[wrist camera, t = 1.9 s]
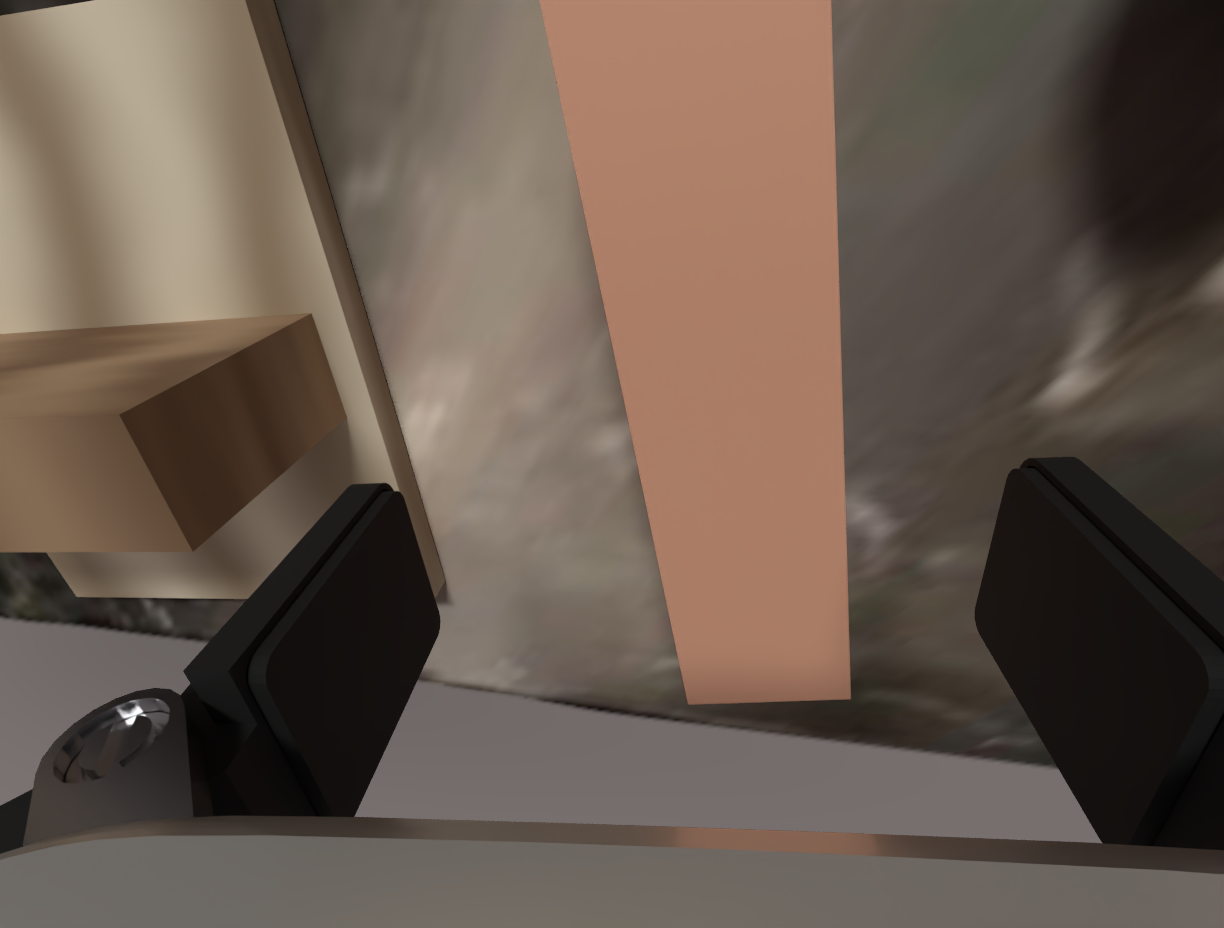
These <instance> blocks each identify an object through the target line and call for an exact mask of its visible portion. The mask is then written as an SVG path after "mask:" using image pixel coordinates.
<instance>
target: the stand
mask: <svg viewBox="0 0 1224 928" xmlns="http://www.w3.org/2000/svg"><path fill="white" fill-rule="evenodd" d="M368 483H387V484H389V485H390V486H391V487H392V488H393V490H394V491H399V492H401V494H402V495H403V497H404V499H405V502H406V505H407V509H408V512H409V515H410V518H411V522H412V525H413V528H414V532H415V535H416V538H417V541H418V545H419V548H420V551H421V555H422V558H423V561H424V564H425V568H426V571H427V574H428V578H429V581H430V584H431V587H432V591H433V594H434V597H435V599H436V597H437V595H438V593H439V591H440V590H441V588H442V586H443V584H444V582H445V578H444V575H443V571H442V568H441V565H440V561H439V558H438V554H437V551H436V548H435V544H434V541H433V538H432V534H431V531H430V527H429V524H428V521H427V517H426V514H425V511H424V507H423V504H422V500H421V497H420V494H419V490H418V487H417V484H416V480H415V477H414V473H413V470H412V467H411V463H410V460H409V457H408V453H407V450H406V446H405V443H404V440H403V436H402V433H401V429H400V426H399V423H398V419H397V416H396V413H395V409H394V406H393V402H392V399H391V396H390V392H389V389H388V386H387V382H386V379H385V375H384V372H383V369H382V365H381V362H380V359H379V355H378V352H377V348H376V345H375V342H374V338H373V335H372V332H371V328H370V325H369V321H368V318H367V315H366V311H365V308H364V305H363V301H362V298H361V294H360V291H359V288H358V284H357V281H356V278H355V274H354V271H353V267H352V264H351V261H350V257H349V254H348V251H347V247H346V244H345V240H344V237H343V234H342V230H341V227H340V224H339V220H338V217H337V213H336V210H335V207H334V203H333V200H332V197H331V193H330V190H329V186H328V183H327V180H326V176H325V173H324V169H323V166H322V163H321V159H320V156H319V153H318V149H317V146H316V142H315V139H314V136H313V132H312V129H311V126H310V122H309V119H308V115H307V112H306V109H305V105H304V102H303V99H302V95H301V92H300V88H299V85H298V82H297V78H296V75H295V72H294V68H293V65H292V61H291V58H290V55H289V51H288V48H287V45H286V41H285V38H284V34H283V31H282V28H281V24H280V21H279V18H278V14H277V11H276V7H275V4H274V1H273V0H94V1H88V2H82V3H76V4H70V5H64V6H58V7H52V8H46V9H40V10H34V11H27V12H21V13H15V14H9V15H3V16H0V552H46V553H47V554H48V556H49V557H50V558H51V560H52V561H53V563H54V564H55V566H56V567H57V569H58V570H59V572H60V573H61V575H62V576H63V577H64V579H65V580H66V582H67V583H68V585H69V586H70V588H71V589H72V591H73V592H74V594H75V595H76V596H77V597H127V598H204V599H248V598H249V597H250V596H251V595H252V594H253V593H254V591H255V590H256V589H257V588H258V587H259V586H260V585H261V584H262V582H263V581H264V580H265V579H266V578H267V577H268V576H269V575H270V574H271V572H272V571H273V570H274V569H275V568H276V567H277V566H278V565H279V563H280V562H281V561H282V560H283V559H284V558H285V557H286V556H287V555H288V553H289V552H290V551H291V550H292V549H293V548H294V547H295V546H296V544H297V543H298V542H299V541H300V540H301V539H302V538H303V537H304V536H305V534H306V533H307V532H308V531H309V530H310V529H311V528H312V527H313V525H314V524H315V523H316V522H317V521H318V520H319V519H320V518H321V516H322V515H323V514H324V513H325V512H326V511H327V510H328V509H329V508H330V506H331V505H332V504H333V503H334V502H335V501H336V500H337V499H338V497H339V496H340V495H341V494H342V493H343V492H344V491H345V490H346V489H347V487H349V486H350V485H352V484H368Z"/></svg>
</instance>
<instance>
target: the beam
mask: <svg viewBox="0 0 1224 928" xmlns="http://www.w3.org/2000/svg"><path fill="white" fill-rule="evenodd" d="M540 4H541V9H542V14H543V19H544V23H545V28H546V33H547V38H548V42H549V47H550V52H551V57H552V61H553V66H554V71H555V76H556V80H557V85H558V90H559V95H560V99H561V104H562V109H563V114H564V118H565V123H566V128H567V133H568V137H569V142H570V147H571V151H572V156H573V161H574V166H575V170H576V175H577V180H578V185H579V189H580V194H581V199H582V204H583V208H584V213H585V218H586V223H587V227H588V232H589V237H590V242H591V246H592V251H593V256H594V261H595V265H596V270H597V275H598V280H599V284H600V289H601V294H602V299H603V303H604V308H605V313H606V318H607V322H608V327H609V332H610V337H611V341H612V346H613V351H614V355H615V360H616V365H617V370H618V374H619V379H620V384H621V389H622V393H623V398H624V403H625V408H626V412H627V417H628V422H629V427H630V431H631V436H632V441H633V446H634V450H635V455H636V460H637V465H638V469H639V474H640V479H641V484H642V488H643V493H644V498H645V503H646V507H647V512H648V517H649V522H650V526H651V531H652V536H653V540H654V545H655V550H656V555H657V559H658V564H659V569H660V574H661V578H662V583H663V588H664V593H665V597H666V602H667V607H668V612H669V616H670V621H671V626H672V631H673V635H674V640H675V645H676V650H677V654H678V659H679V664H680V669H681V673H682V678H683V683H684V688H685V692H686V697H687V702H688V705H693V704H723V703H753V702H782V701H812V700H841V699H851V685H850V650H849V615H848V579H847V544H846V509H845V474H844V439H843V403H842V368H841V333H840V298H839V262H838V227H837V192H836V157H835V122H834V86H833V51H832V16H831V0H540Z"/></svg>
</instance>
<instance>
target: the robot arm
mask: <svg viewBox="0 0 1224 928" xmlns="http://www.w3.org/2000/svg"><path fill="white" fill-rule="evenodd" d="M975 622H976V626H977V630H978V632H979V634H980V636H981V638H982V639H983V641H984V643H985V644H986V646H987V648H988V649H989V651H990V653H991V655H992V656H993V658H994V660H995V661H996V663H997V665H998V666H999V668H1000V670H1001V672H1002V673H1003V675H1004V677H1005V678H1006V680H1007V682H1008V684H1009V685H1010V687H1011V689H1012V690H1013V692H1014V694H1015V695H1016V697H1017V699H1018V701H1019V702H1020V704H1021V706H1022V707H1023V709H1024V711H1025V712H1026V714H1027V716H1028V718H1029V719H1030V721H1031V723H1032V724H1033V726H1034V728H1035V730H1036V731H1037V733H1038V735H1039V736H1040V738H1041V740H1042V741H1043V743H1044V745H1045V747H1046V748H1047V750H1048V752H1049V753H1050V755H1051V757H1052V758H1053V760H1054V762H1055V764H1056V765H1057V767H1058V769H1059V770H1060V772H1061V774H1062V775H1063V777H1064V779H1065V780H1066V782H1067V784H1068V786H1069V787H1070V789H1071V791H1072V793H1073V794H1074V796H1075V798H1076V799H1077V801H1078V803H1079V804H1080V806H1081V808H1082V810H1083V811H1084V813H1085V814H1086V816H1087V818H1088V820H1089V822H1090V823H1091V825H1092V827H1093V828H1094V830H1095V832H1096V833H1097V835H1098V837H1099V838H1100V840H1101V841H1102V843H1103V844H1102V843H1083V842H1059V841H1034V840H1033V841H1031V840H1008V839H984V838H983V839H982V838H959V837H933V836H909V835H884V834H858V833H834V832H806V831H777V830H749V829H721V828H693V827H692V828H691V827H663V826H635V825H606V824H576V823H545V822H544V823H543V822H510V821H474V820H439V819H407V818H406V819H405V818H373V817H354V816H355V814H356V812H357V810H358V807H359V805H360V803H361V801H362V799H363V797H364V794H365V792H366V790H367V788H368V786H369V784H370V781H371V779H372V777H373V775H374V773H375V771H376V769H377V766H378V764H379V762H380V760H381V758H382V756H383V753H384V751H385V749H386V747H387V745H388V743H389V740H390V738H391V736H392V734H393V732H394V730H395V728H396V725H397V723H398V721H399V719H400V717H401V714H402V712H403V710H404V708H405V706H406V703H407V702H408V699H409V697H410V695H411V693H412V691H413V689H414V686H415V684H416V682H417V680H418V678H419V676H420V673H421V671H422V669H423V667H424V665H425V663H426V661H427V658H428V656H429V654H430V652H431V650H432V648H433V645H434V643H435V641H436V639H437V637H438V634H439V630H440V614H439V610H438V607H437V604H436V601H435V597H434V594H433V591H432V587H431V584H430V581H429V578H428V574H427V571H426V568H425V564H424V561H423V558H422V555H421V551H420V548H419V545H418V541H417V538H416V535H415V532H414V528H413V525H412V522H411V518H410V515H409V512H408V509H407V505H406V502H405V499H404V497H403V495H402V494H401V492H399V491H394V490H393V488H392V487H391V486H390V485H389V484H387V483H368V484H352V485H350V486H349V487H347V489H346V490H345V491H344V492H343V493H342V494H341V495H340V496H339V497H338V499H337V500H336V501H335V502H334V503H333V504H332V505H331V506H330V508H329V509H328V510H327V511H326V512H325V513H324V514H323V515H322V516H321V518H320V519H319V520H318V521H317V522H316V523H315V524H314V525H313V527H312V528H311V529H310V530H309V531H308V532H307V533H306V534H305V536H304V537H303V538H302V539H301V540H300V541H299V542H298V543H297V544H296V546H295V547H294V548H293V549H292V550H291V551H290V552H289V553H288V555H287V556H286V557H285V558H284V559H283V560H282V561H281V562H280V563H279V565H278V566H277V567H276V568H275V569H274V570H273V571H272V572H271V574H270V575H269V576H268V577H267V578H266V579H265V580H264V581H263V582H262V584H261V585H260V586H259V587H258V588H257V589H256V590H255V591H254V593H253V594H252V595H251V596H250V597H249V598H248V599H247V600H246V601H245V603H244V604H243V605H242V606H241V607H240V608H239V609H238V610H237V612H236V613H235V614H234V615H233V616H232V617H231V618H230V619H229V620H228V622H227V623H226V624H225V625H224V626H223V627H222V628H221V629H220V631H219V632H218V633H217V634H216V635H215V636H214V637H213V638H212V639H211V641H210V642H209V643H208V644H207V645H206V646H205V647H204V649H203V650H202V651H201V652H200V653H199V654H198V655H197V656H196V658H195V659H194V660H193V661H192V662H191V663H190V664H189V665H188V666H187V668H186V669H185V670H184V673H185V675H186V676H187V678H188V680H189V681H190V683H191V684H190V685H189V686H188V687H187V689H186V690H185V691H184V692H183V693H182V694H181V695H179V694H177V693H176V692H173V691H172V690H170V689H160V688H153V689H147V690H141V691H136V692H133V693H130V694H127V695H124V696H122V697H119V698H116V699H114V700H112V701H110V702H108V703H106V704H104V705H102V706H100V707H99V708H97V709H95V710H93V711H92V712H90V713H89V714H87V715H86V716H85V717H83V718H81V719H80V720H79V721H77V722H76V723H74V724H73V725H72V726H71V727H70V728H69V729H67V731H65V732H64V733H63V734H62V735H61V736H60V737H59V738H58V739H57V740H56V741H55V742H54V743H53V744H52V746H51V747H50V748H49V750H48V751H47V752H46V754H45V755H44V756H43V757H42V759H41V762H40V764H39V767H38V770H37V772H36V775H35V780H34V786H33V789H32V790H30V791H28V792H26V793H24V794H22V795H20V796H18V797H16V798H15V799H13V800H11V801H9V802H7V803H5V804H3V805H1V806H0V928H1224V582H1223V581H1222V580H1221V579H1220V578H1219V577H1217V576H1216V575H1215V574H1214V573H1213V572H1212V571H1210V570H1209V569H1208V568H1207V567H1206V566H1204V565H1203V564H1202V563H1201V562H1200V561H1199V560H1197V559H1196V558H1195V557H1194V556H1193V555H1191V554H1190V553H1189V552H1188V551H1187V550H1186V549H1184V548H1183V547H1182V546H1181V545H1180V544H1178V543H1177V542H1176V541H1175V540H1174V539H1173V538H1171V537H1170V536H1169V535H1168V534H1167V533H1165V532H1164V531H1163V530H1162V529H1161V528H1160V527H1158V526H1157V525H1156V524H1155V523H1154V522H1152V521H1151V520H1150V519H1149V518H1148V517H1147V516H1145V515H1144V514H1143V513H1142V512H1141V511H1139V510H1138V509H1137V508H1136V507H1135V506H1134V505H1132V504H1131V503H1130V502H1129V501H1128V500H1127V499H1125V498H1124V497H1123V496H1122V495H1121V494H1119V493H1118V492H1117V491H1116V490H1115V489H1114V488H1112V487H1111V486H1110V485H1109V484H1108V483H1106V482H1105V481H1104V480H1103V479H1102V478H1101V477H1099V476H1098V475H1097V474H1096V473H1095V472H1093V471H1092V470H1091V469H1090V468H1089V467H1088V466H1086V465H1085V464H1084V463H1083V462H1082V461H1080V460H1079V459H1077V458H1075V457H1052V458H1029V459H1027V460H1025V461H1024V462H1023V463H1022V465H1021V466H1020V469H1013V470H1011V471H1010V473H1009V474H1008V477H1007V480H1006V484H1005V488H1004V492H1003V496H1002V500H1001V504H1000V509H999V513H998V517H997V521H996V525H995V529H994V533H993V537H992V541H991V545H990V550H989V554H988V558H987V562H986V566H985V570H984V574H983V578H982V582H981V586H980V591H979V595H978V599H977V603H976V607H975Z"/></svg>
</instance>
